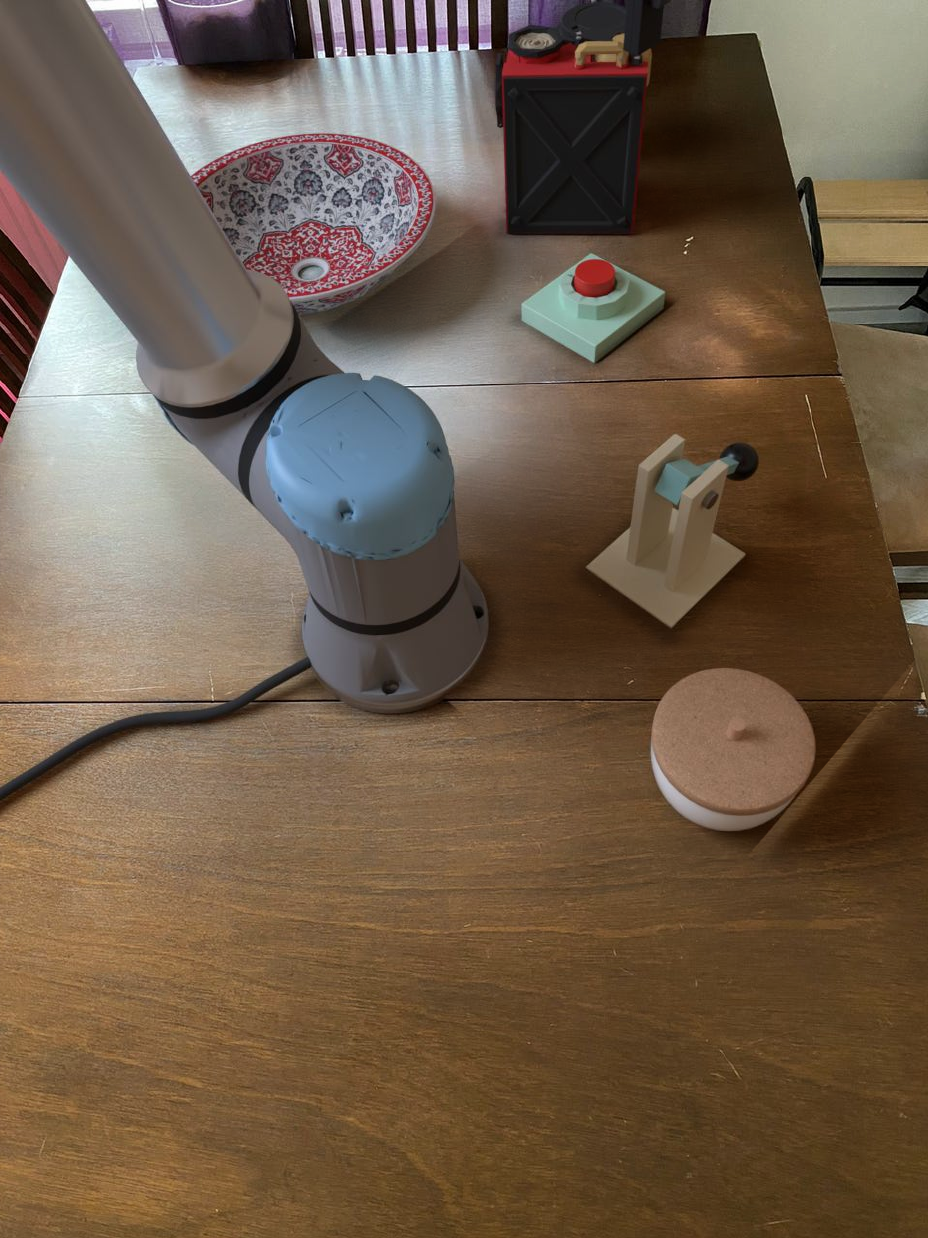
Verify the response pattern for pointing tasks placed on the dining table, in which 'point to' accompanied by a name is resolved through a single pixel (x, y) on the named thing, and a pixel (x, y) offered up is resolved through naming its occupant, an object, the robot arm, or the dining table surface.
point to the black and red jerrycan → (570, 130)
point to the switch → (685, 472)
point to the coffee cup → (592, 18)
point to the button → (594, 278)
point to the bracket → (669, 541)
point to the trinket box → (730, 748)
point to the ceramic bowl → (320, 212)
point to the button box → (592, 312)
